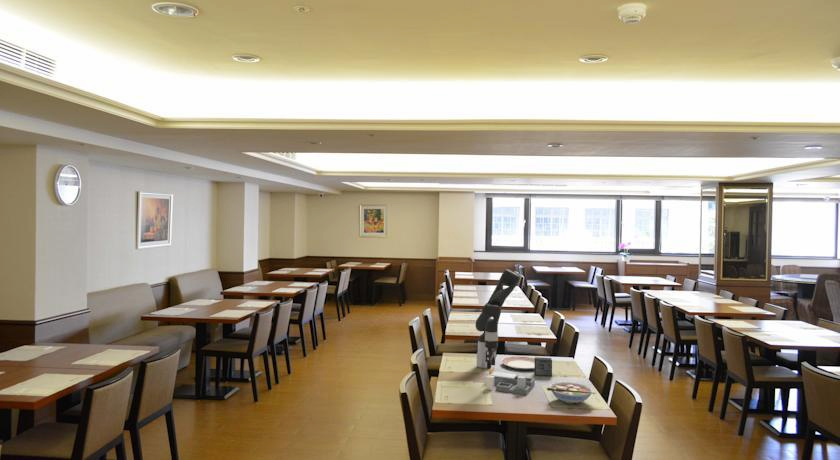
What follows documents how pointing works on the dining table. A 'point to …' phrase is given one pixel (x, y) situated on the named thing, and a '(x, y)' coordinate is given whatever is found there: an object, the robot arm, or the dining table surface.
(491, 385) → the white jaw block
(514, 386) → the housing
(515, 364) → the dinner plate
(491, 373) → the lid
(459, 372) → the dining table surface
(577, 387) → the ramen bowl
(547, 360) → the small box
